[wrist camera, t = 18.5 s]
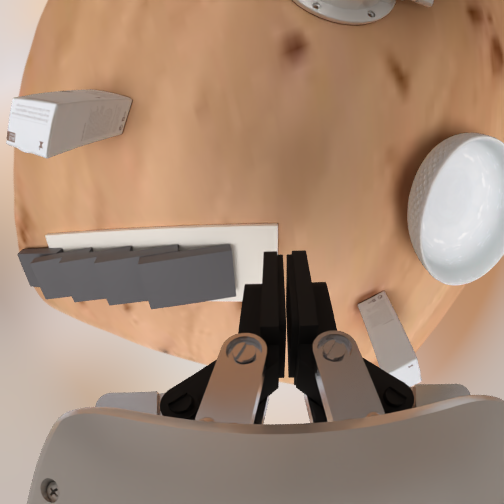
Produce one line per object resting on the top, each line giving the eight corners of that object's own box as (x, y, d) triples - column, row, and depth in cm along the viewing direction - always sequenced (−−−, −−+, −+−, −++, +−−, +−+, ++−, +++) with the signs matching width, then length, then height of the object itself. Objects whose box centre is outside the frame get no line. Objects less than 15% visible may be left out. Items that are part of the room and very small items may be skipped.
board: (277, 223, 29) (277, 225, 29) (277, 298, 34) (277, 301, 33) (47, 233, 31) (45, 235, 30) (68, 291, 36) (66, 293, 35)
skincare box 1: (134, 97, 23) (59, 99, 12) (122, 136, 25) (48, 161, 14) (90, 88, 22) (12, 92, 11) (80, 125, 24) (3, 146, 13)
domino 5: (232, 250, 29) (137, 264, 27) (236, 296, 31) (151, 309, 30) (229, 243, 30) (139, 257, 28) (233, 288, 33) (152, 300, 31)
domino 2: (88, 252, 30) (30, 263, 28) (102, 292, 32) (45, 299, 31) (91, 247, 31) (34, 257, 29) (104, 285, 34) (49, 292, 32)
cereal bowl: (441, 275, 32) (465, 306, 25) (363, 213, 28) (387, 242, 22) (504, 183, 24) (537, 201, 18) (439, 96, 21) (478, 99, 15)
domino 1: (55, 253, 30) (17, 254, 30) (70, 289, 33) (30, 286, 33) (62, 247, 31) (23, 249, 32) (75, 283, 34) (35, 280, 35)
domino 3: (142, 286, 33) (77, 295, 32) (131, 245, 31) (62, 257, 29) (141, 293, 32) (74, 302, 30) (128, 251, 29) (58, 263, 27)
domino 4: (177, 250, 29) (93, 263, 27) (186, 295, 32) (109, 305, 30) (177, 244, 30) (97, 256, 28) (186, 287, 33) (111, 297, 31)
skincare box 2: (356, 304, 34) (381, 375, 24) (384, 289, 33) (418, 357, 22) (369, 330, 36) (391, 396, 26) (394, 316, 35) (423, 381, 25)
